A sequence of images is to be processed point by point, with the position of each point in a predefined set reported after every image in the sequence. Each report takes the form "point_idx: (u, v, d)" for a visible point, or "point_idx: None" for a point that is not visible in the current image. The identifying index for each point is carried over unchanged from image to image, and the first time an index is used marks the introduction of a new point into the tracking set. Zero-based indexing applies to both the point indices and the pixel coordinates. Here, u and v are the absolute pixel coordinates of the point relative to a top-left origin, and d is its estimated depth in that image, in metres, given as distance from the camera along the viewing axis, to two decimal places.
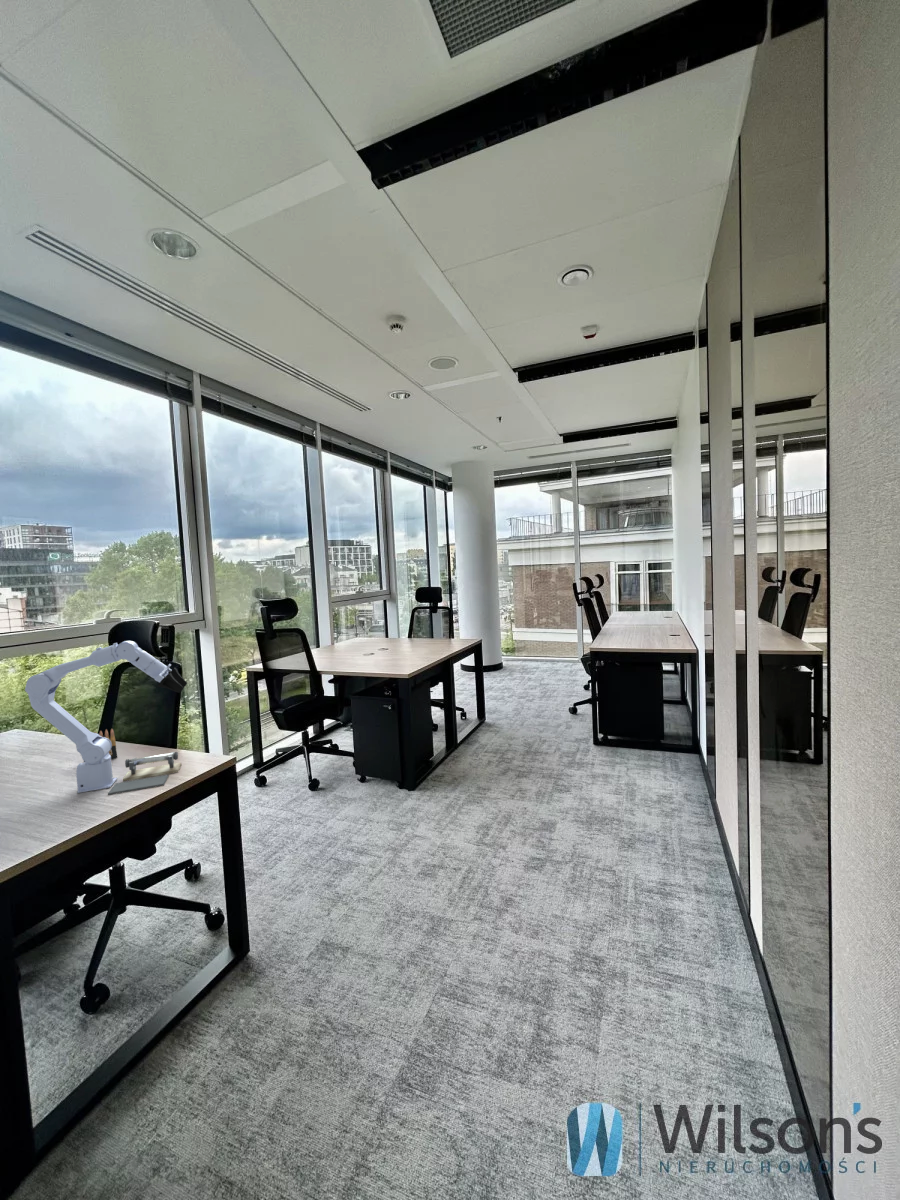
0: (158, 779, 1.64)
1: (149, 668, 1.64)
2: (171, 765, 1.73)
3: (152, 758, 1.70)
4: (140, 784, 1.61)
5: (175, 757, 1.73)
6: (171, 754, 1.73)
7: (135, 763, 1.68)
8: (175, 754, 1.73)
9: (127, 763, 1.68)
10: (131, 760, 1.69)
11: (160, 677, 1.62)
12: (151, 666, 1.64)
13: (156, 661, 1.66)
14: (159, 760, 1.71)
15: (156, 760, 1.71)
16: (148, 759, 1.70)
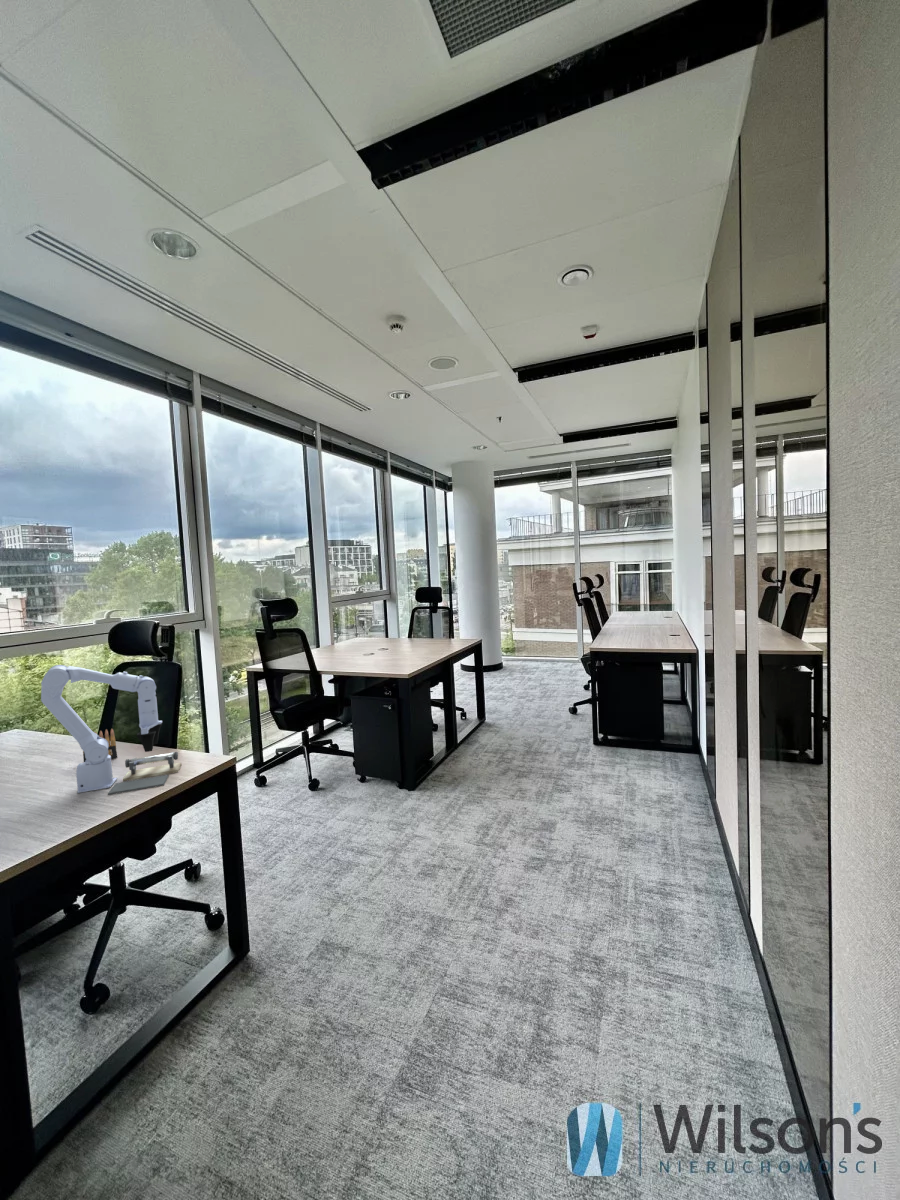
0: (158, 779, 1.64)
1: (145, 714, 1.68)
2: (171, 765, 1.73)
3: (152, 758, 1.70)
4: (140, 784, 1.61)
5: (175, 757, 1.73)
6: (171, 754, 1.73)
7: (135, 763, 1.68)
8: (175, 754, 1.73)
9: (127, 763, 1.68)
10: (131, 760, 1.69)
11: (146, 731, 1.64)
12: (148, 714, 1.68)
13: (155, 712, 1.70)
14: (159, 760, 1.71)
15: (156, 760, 1.71)
16: (148, 759, 1.70)
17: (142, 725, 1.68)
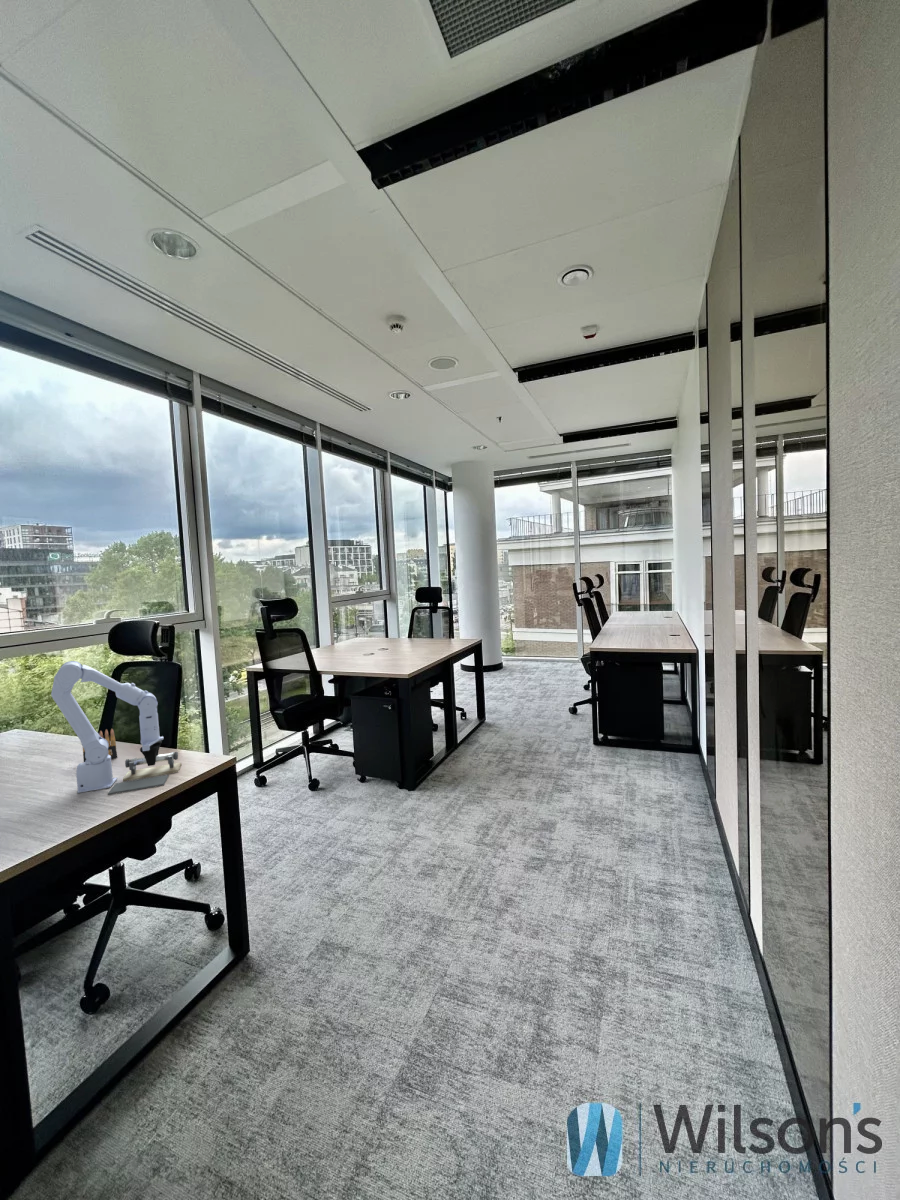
0: (158, 779, 1.64)
1: (147, 731, 1.68)
2: (171, 765, 1.73)
3: None
4: (140, 784, 1.61)
5: (175, 757, 1.73)
6: (171, 754, 1.73)
7: (135, 763, 1.68)
8: (175, 754, 1.73)
9: (127, 763, 1.68)
10: (131, 760, 1.69)
11: (147, 748, 1.64)
12: (150, 730, 1.68)
13: (157, 728, 1.70)
14: (159, 760, 1.71)
15: (156, 760, 1.71)
16: None
17: (143, 741, 1.68)
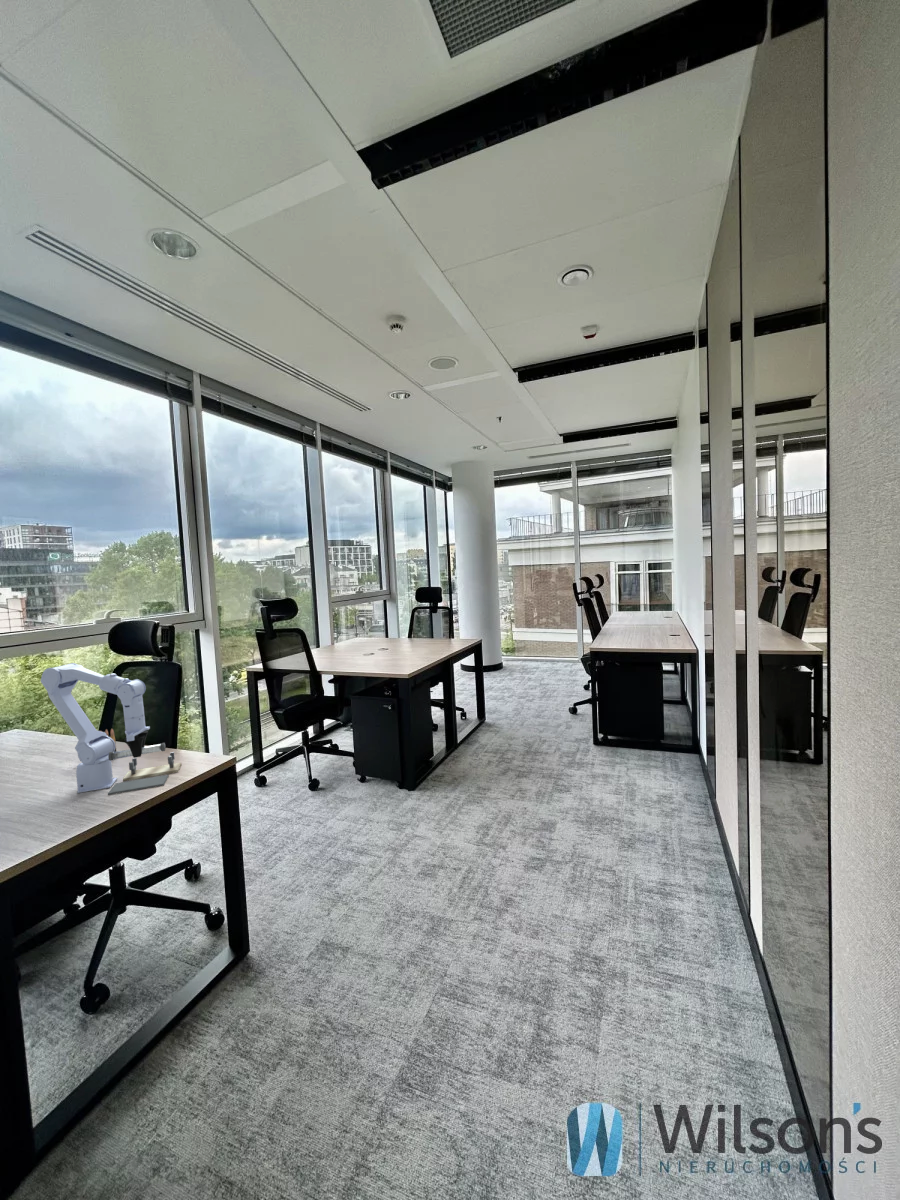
0: (158, 779, 1.64)
1: (131, 720, 1.57)
2: (171, 765, 1.73)
3: None
4: (140, 784, 1.61)
5: (162, 749, 1.62)
6: (158, 745, 1.62)
7: (119, 756, 1.58)
8: (162, 745, 1.62)
9: (110, 756, 1.57)
10: (115, 753, 1.58)
11: (132, 738, 1.54)
12: (134, 720, 1.58)
13: (142, 718, 1.60)
14: (145, 752, 1.61)
15: (142, 752, 1.60)
16: None
17: (128, 732, 1.58)
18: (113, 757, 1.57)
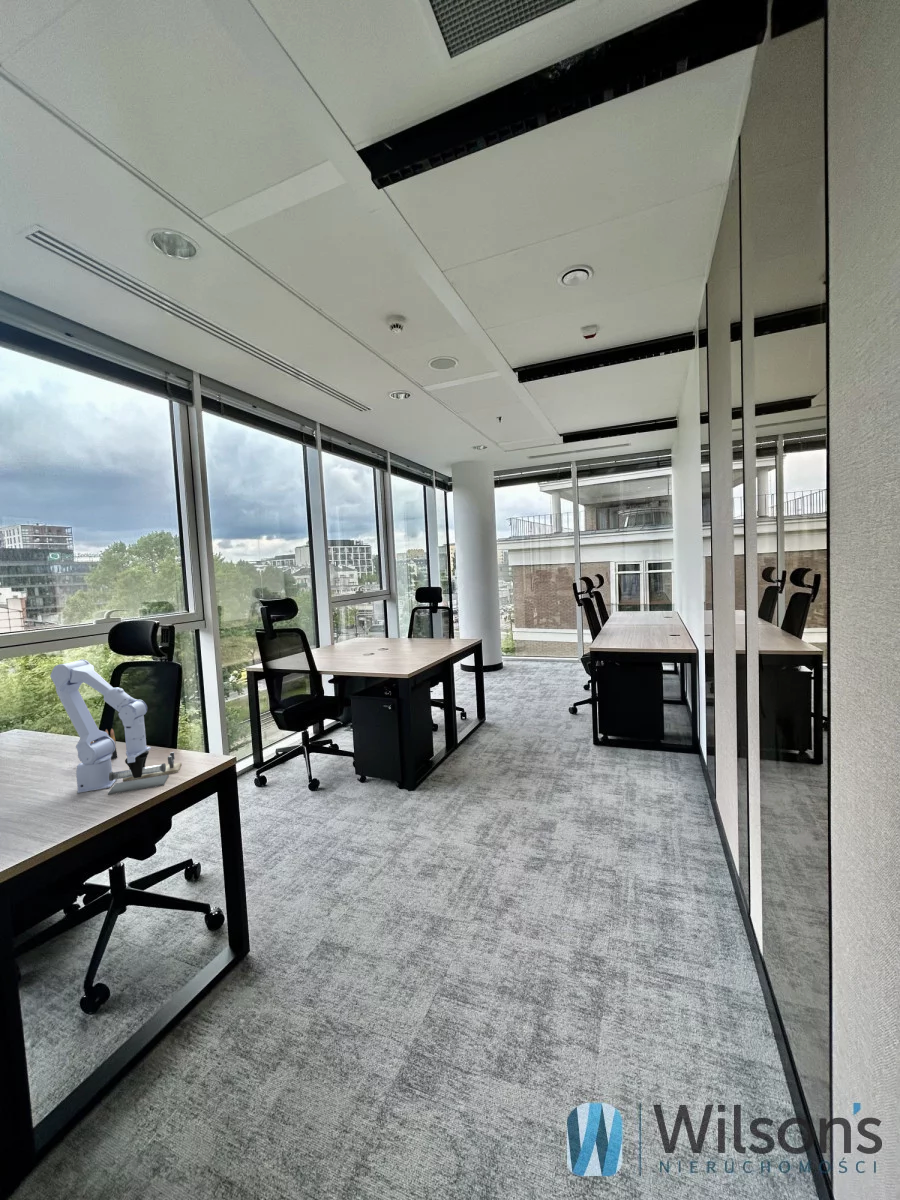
0: (158, 779, 1.64)
1: (132, 741, 1.58)
2: (171, 765, 1.73)
3: None
4: (140, 784, 1.61)
5: (162, 769, 1.63)
6: (158, 766, 1.63)
7: (120, 776, 1.58)
8: (162, 766, 1.63)
9: (111, 776, 1.57)
10: (115, 773, 1.58)
11: (132, 759, 1.54)
12: (135, 741, 1.58)
13: (143, 738, 1.60)
14: (146, 773, 1.61)
15: (142, 773, 1.61)
16: None
17: (129, 752, 1.58)
18: (114, 778, 1.58)
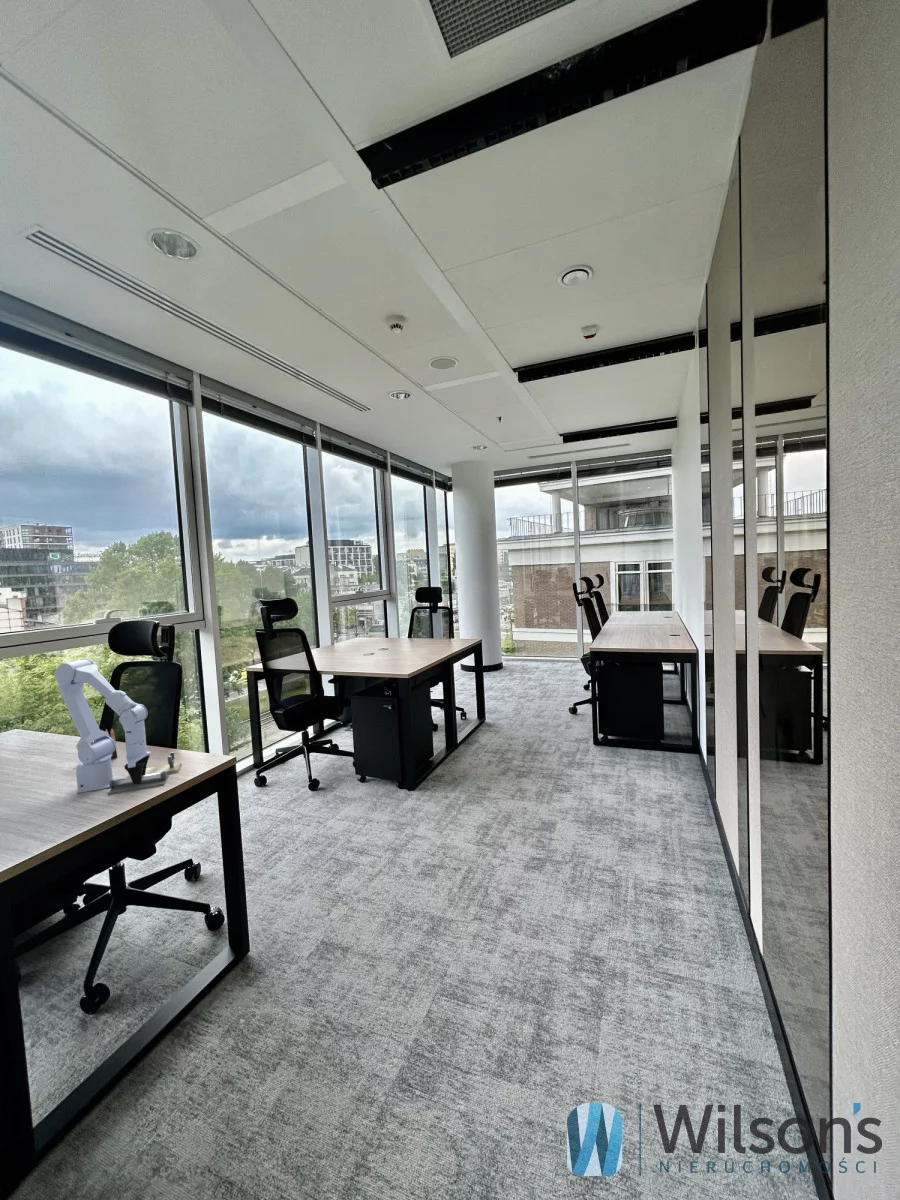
0: None
1: (133, 746, 1.58)
2: (171, 765, 1.73)
3: None
4: (140, 784, 1.61)
5: (163, 777, 1.63)
6: (159, 774, 1.63)
7: (120, 784, 1.59)
8: (163, 774, 1.63)
9: (112, 784, 1.58)
10: (116, 781, 1.58)
11: (133, 764, 1.54)
12: (136, 745, 1.58)
13: (143, 743, 1.60)
14: (146, 781, 1.61)
15: (143, 781, 1.61)
16: None
17: (129, 757, 1.58)
18: (114, 785, 1.58)
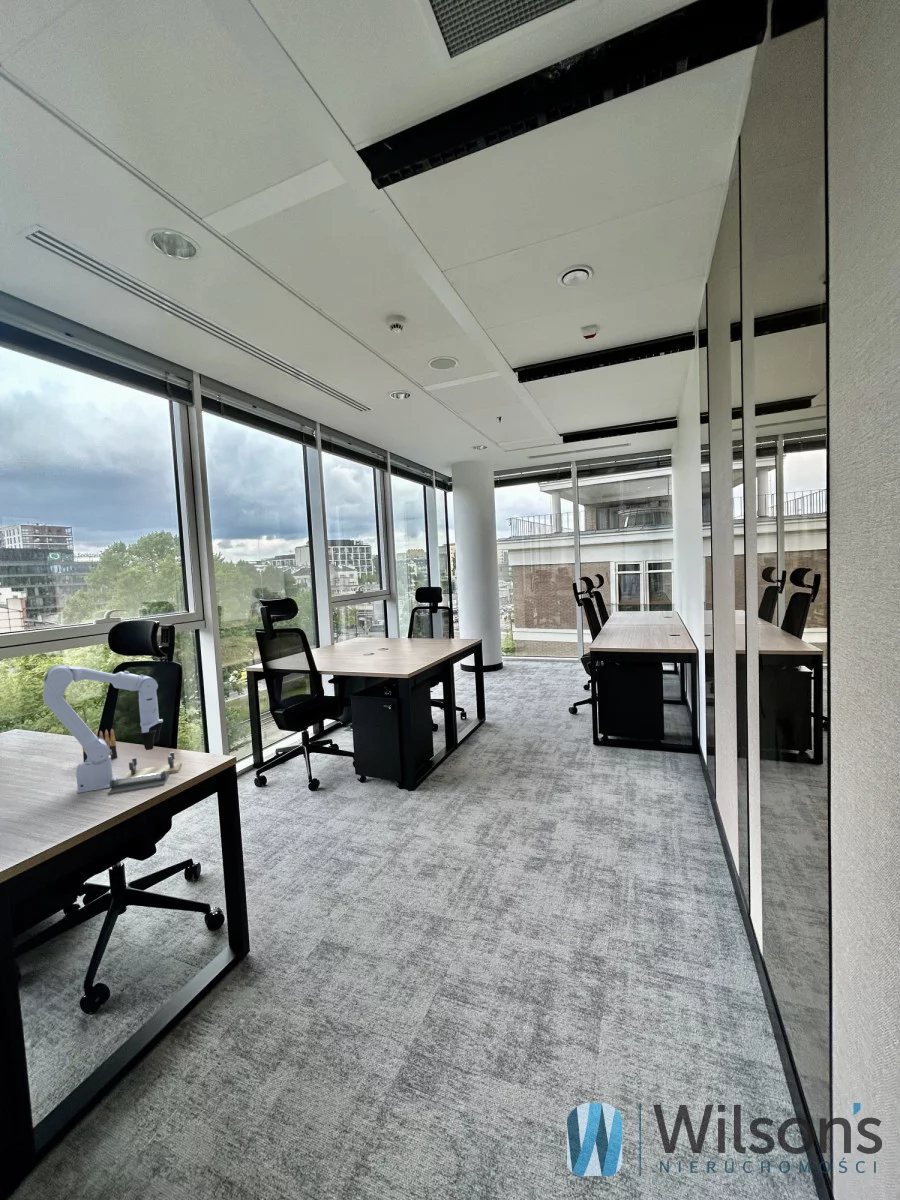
0: None
1: (146, 713, 1.69)
2: (171, 765, 1.73)
3: (138, 778, 1.61)
4: (140, 784, 1.61)
5: (163, 777, 1.63)
6: (159, 774, 1.63)
7: (120, 784, 1.59)
8: (163, 774, 1.63)
9: (112, 784, 1.58)
10: (116, 780, 1.59)
11: (146, 729, 1.66)
12: (149, 713, 1.70)
13: (156, 711, 1.72)
14: (146, 780, 1.61)
15: (143, 780, 1.61)
16: (134, 779, 1.60)
17: (143, 724, 1.70)
18: (114, 785, 1.58)
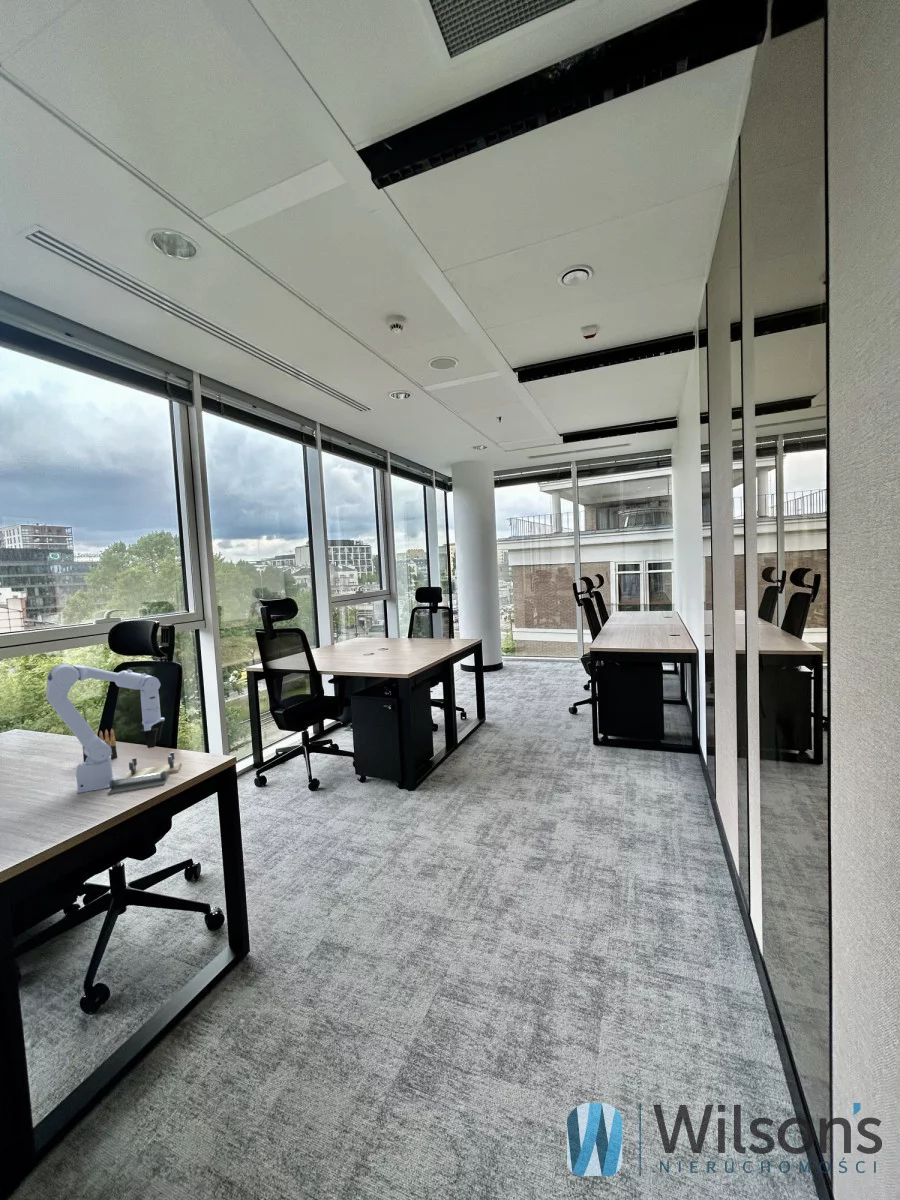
0: None
1: (148, 711, 1.71)
2: (171, 765, 1.73)
3: (138, 779, 1.60)
4: (140, 784, 1.61)
5: (163, 777, 1.63)
6: (159, 774, 1.63)
7: (120, 784, 1.59)
8: (163, 774, 1.63)
9: (112, 784, 1.58)
10: (116, 781, 1.59)
11: (149, 728, 1.68)
12: (151, 711, 1.72)
13: (158, 709, 1.74)
14: (146, 781, 1.61)
15: (143, 781, 1.61)
16: (134, 780, 1.60)
17: (145, 722, 1.71)
18: (114, 785, 1.58)
